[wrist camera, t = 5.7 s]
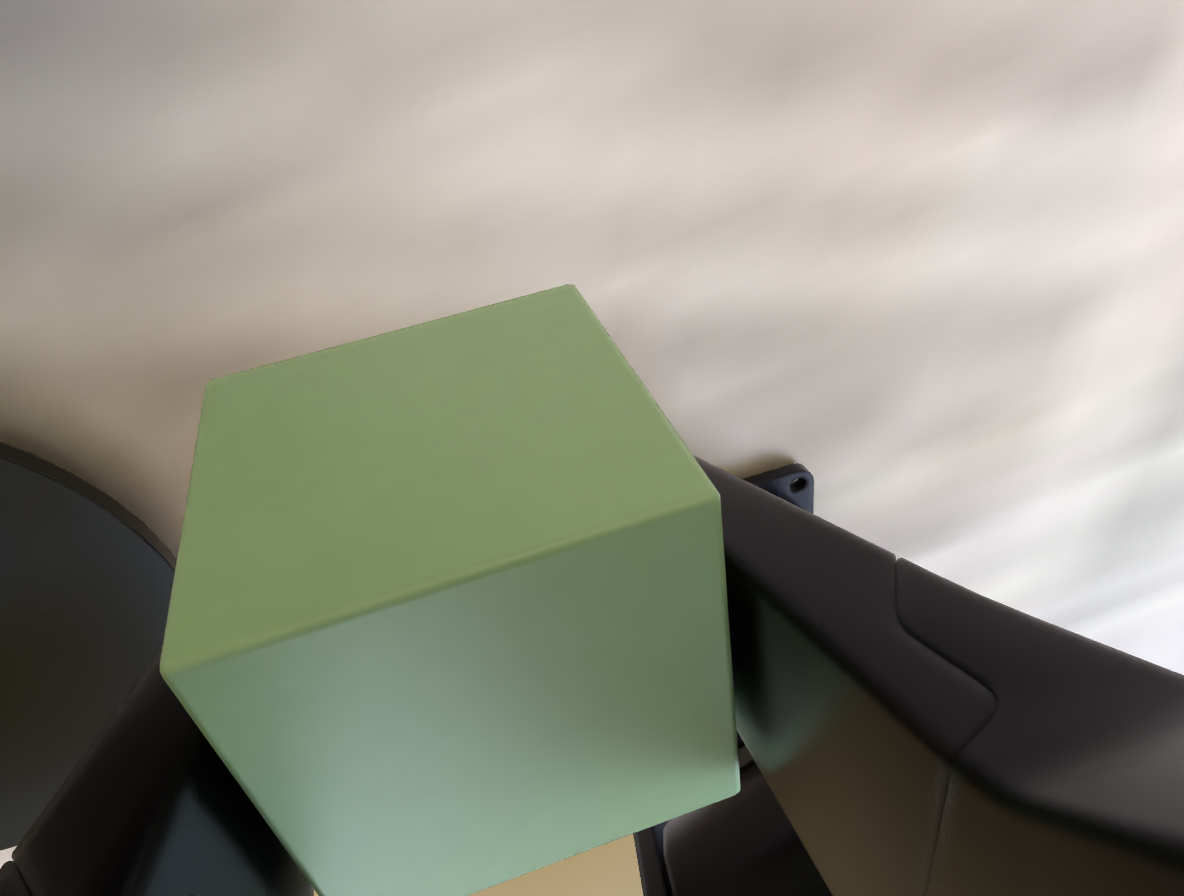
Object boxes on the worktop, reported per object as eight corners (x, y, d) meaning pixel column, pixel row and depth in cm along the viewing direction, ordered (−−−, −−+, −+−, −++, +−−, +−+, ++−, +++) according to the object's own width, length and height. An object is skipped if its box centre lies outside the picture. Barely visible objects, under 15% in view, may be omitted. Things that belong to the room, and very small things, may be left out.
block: (574, 279, 9) (724, 492, 6) (619, 543, 12) (743, 795, 8) (203, 378, 9) (151, 674, 5) (331, 635, 11) (349, 944, 8)
